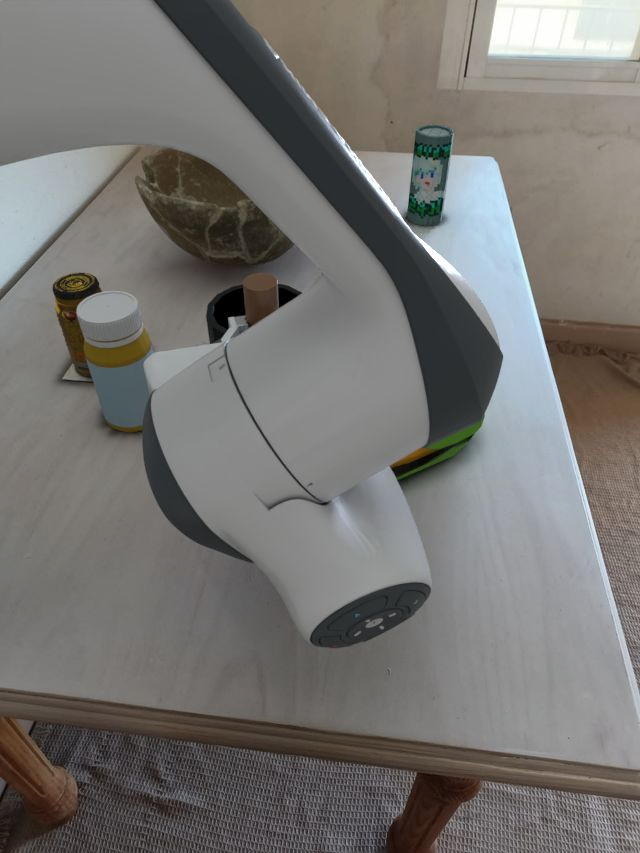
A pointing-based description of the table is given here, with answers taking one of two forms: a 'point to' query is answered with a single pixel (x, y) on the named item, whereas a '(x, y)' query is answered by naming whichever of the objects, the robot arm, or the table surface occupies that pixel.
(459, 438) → the corn
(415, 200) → the can
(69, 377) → the condiment
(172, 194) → the bowl
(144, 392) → the bottle
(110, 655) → the table surface
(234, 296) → the pot
